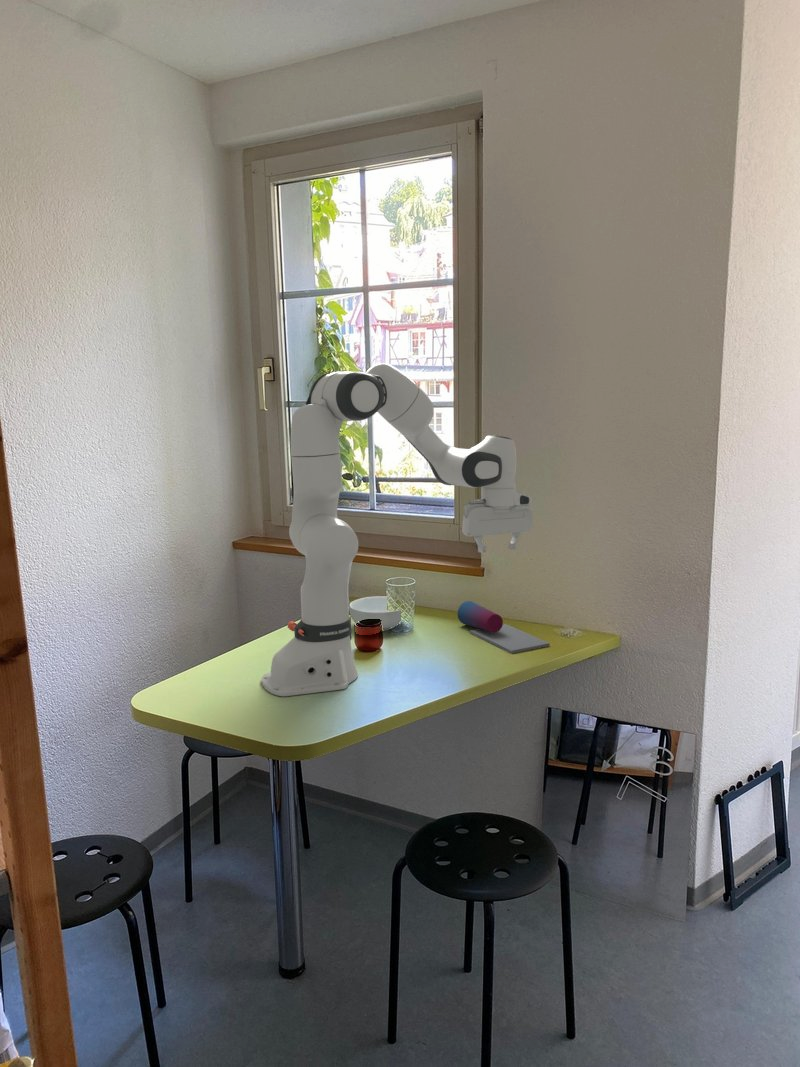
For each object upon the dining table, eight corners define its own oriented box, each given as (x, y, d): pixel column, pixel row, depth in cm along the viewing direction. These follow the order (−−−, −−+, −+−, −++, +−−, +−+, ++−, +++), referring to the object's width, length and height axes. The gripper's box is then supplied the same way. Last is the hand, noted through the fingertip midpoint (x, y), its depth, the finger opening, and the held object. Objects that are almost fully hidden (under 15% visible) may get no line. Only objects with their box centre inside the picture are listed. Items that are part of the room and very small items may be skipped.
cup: (507, 631, 217) (479, 620, 231) (503, 608, 216) (476, 598, 229) (486, 638, 214) (459, 627, 228) (482, 614, 213) (455, 604, 227)
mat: (511, 653, 203) (511, 650, 203) (469, 633, 221) (469, 630, 221) (549, 646, 209) (549, 643, 208) (505, 626, 226) (505, 624, 226)
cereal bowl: (349, 637, 220) (348, 612, 218) (350, 620, 236) (350, 596, 235) (410, 635, 220) (410, 610, 219) (408, 618, 237) (407, 595, 235)
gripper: (470, 501, 199) (469, 556, 202) (537, 497, 209) (535, 549, 211) (457, 499, 205) (456, 551, 207) (523, 495, 214) (521, 545, 216)
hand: (497, 550), depth 209 cm, fingers open, 8 cm apart
